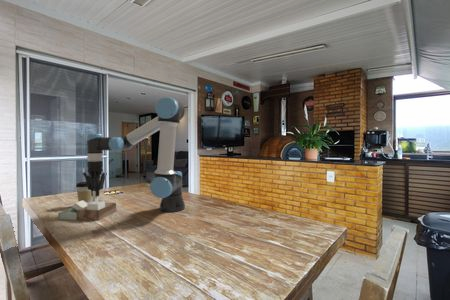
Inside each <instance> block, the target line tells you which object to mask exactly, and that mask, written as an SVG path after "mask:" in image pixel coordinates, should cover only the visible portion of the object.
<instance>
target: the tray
mask: <svg viewBox="0 0 450 300" xmlns="http://www.w3.org/2000/svg"><path fill="white" fill-rule="evenodd" d="M57 214H58V217H57V218H58V219H57V220H61V221H62V220H64V221H65V220H67V221H68V220H69V221H77V210H76V209H74V208H73V207H70V208H68V209H65V210H62V211H60V212H58V213H57Z"/></svg>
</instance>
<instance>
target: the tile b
mask: <svg viewBox="0 0 450 300" xmlns="http://www.w3.org/2000/svg"><path fill="white" fill-rule="evenodd" d="M105 203H106V201H99V200H98V201H94V202H93V201H91V203H89V204H87V210H100V209H102V208H104V207H105Z"/></svg>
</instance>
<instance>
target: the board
mask: <svg viewBox="0 0 450 300" xmlns="http://www.w3.org/2000/svg"><path fill="white" fill-rule="evenodd" d="M116 212H117V202H105V207H104V208H102V209H100V210H87V206H86V207H84V208H81V209H79V210H77V220H79V221H81V220H82V221H100V220H102V219H105V218H107V217H108V216H110V215H112V214H113V213H116ZM77 220H76V221H77Z"/></svg>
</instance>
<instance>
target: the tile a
mask: <svg viewBox="0 0 450 300" xmlns="http://www.w3.org/2000/svg"><path fill="white" fill-rule="evenodd" d="M86 206H87V203H86V202H85V201H83V200H82V201H77V202H74V204H73V206H72V208H74V209H76V210H79V209H81V208H84V207H86Z"/></svg>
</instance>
